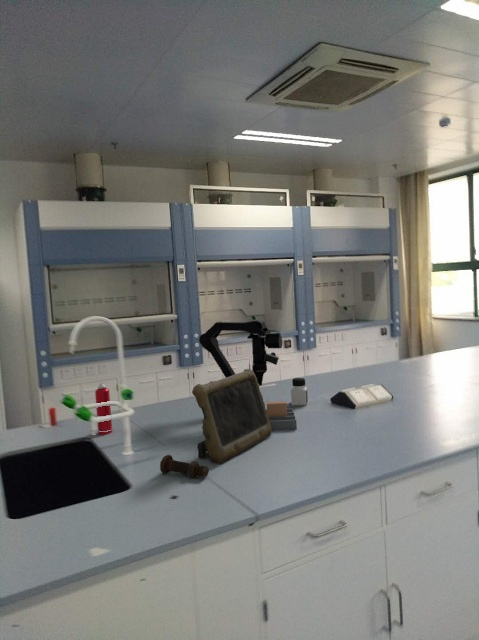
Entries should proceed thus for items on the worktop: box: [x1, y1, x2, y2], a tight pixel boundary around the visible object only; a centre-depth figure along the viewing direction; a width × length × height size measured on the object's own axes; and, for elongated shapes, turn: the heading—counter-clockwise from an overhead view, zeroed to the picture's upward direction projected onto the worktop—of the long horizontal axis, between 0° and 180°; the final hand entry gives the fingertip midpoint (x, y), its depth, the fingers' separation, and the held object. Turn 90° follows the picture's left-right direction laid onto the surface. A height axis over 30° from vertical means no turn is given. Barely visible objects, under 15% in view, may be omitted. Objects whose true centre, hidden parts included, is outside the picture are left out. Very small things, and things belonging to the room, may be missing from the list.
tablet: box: [191, 368, 273, 465], centre depth 156 cm, size 33×14×25 cm, turn 149°
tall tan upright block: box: [266, 400, 288, 417], centre depth 180 cm, size 8×3×8 cm, turn 88°
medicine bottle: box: [290, 377, 309, 406], centre depth 210 cm, size 7×7×12 cm
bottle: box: [94, 383, 113, 436], centre depth 181 cm, size 6×5×20 cm
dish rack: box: [266, 408, 298, 431], centre depth 181 cm, size 14×17×4 cm
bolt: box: [159, 454, 210, 479], centre depth 135 cm, size 6×5×15 cm
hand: (260, 383), depth 198 cm, fingers open, 9 cm apart
